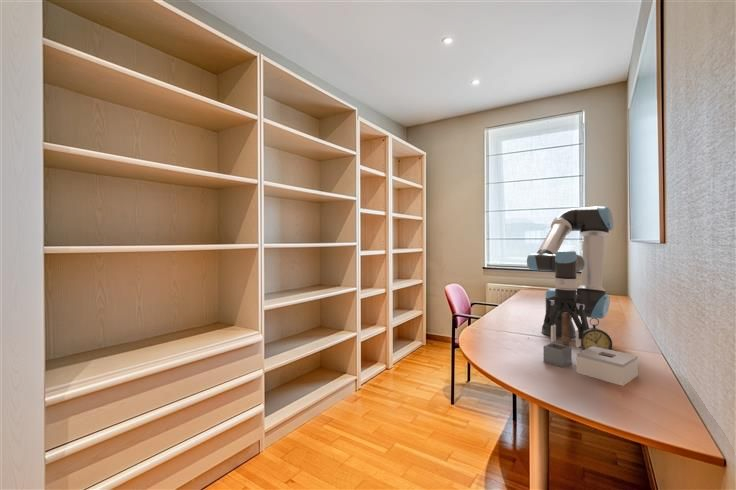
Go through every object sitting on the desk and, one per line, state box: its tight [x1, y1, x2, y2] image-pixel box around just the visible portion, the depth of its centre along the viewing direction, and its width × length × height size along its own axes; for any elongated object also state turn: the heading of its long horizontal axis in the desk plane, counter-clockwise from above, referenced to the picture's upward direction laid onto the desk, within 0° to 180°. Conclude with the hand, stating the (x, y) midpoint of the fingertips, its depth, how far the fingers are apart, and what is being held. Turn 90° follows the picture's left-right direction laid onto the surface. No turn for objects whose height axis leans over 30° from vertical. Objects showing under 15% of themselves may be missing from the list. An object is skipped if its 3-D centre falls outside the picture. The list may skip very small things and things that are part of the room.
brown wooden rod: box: [561, 312, 571, 347], centre depth 139 cm, size 3×3×18 cm
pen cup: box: [543, 342, 573, 368], centre depth 133 cm, size 7×7×6 cm
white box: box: [576, 346, 639, 387], centre depth 121 cm, size 14×14×7 cm
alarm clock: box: [579, 318, 613, 351], centre depth 138 cm, size 11×5×16 cm, turn 73°
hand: (565, 343), depth 139 cm, fingers open, 9 cm apart
